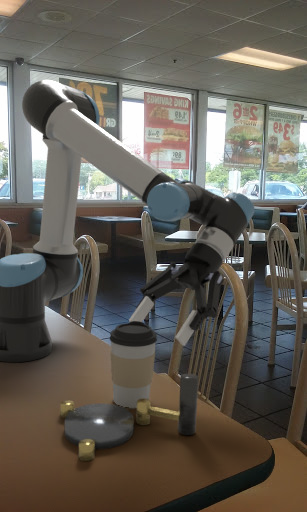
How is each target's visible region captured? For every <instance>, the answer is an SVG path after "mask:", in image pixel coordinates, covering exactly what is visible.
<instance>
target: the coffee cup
mask: <svg viewBox="0 0 307 512" xmlns="http://www.w3.org/2000/svg"><path fill="white" fill-rule="evenodd" d="M157 337H158V336H157V332H155V331H154V330H152V327H150V326H149V325H147V324H145V323H144V322H143V321H142V322H140V321H132V322H130V321H129V322H127V323H120V324H118V325H116V326H115V328H114V329H112V331H111V332H110V337H109V341H110V362H111V363H110V366H111V381H112V393H113V394H112V395H113V396H112V397H113V402H115V403H116V404H115V403H114V404H115V405H117V406H118V405H120V407H121V406H123V408H125V407H129V408H128V409H137V400H139V399H143V398H144V399H149V400H150V395H151V394H150V393H151V385H152V382H153V377H154V376H153V375H154V366H155V365H154V364H155V359H156V357H155V356H156V342H157V341H158V340H157V339H158V338H157Z"/></svg>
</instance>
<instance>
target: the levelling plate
mask: <svg viewBox="0 0 307 512" xmlns="http://www.w3.org/2000/svg"><path fill="white" fill-rule="evenodd" d="M60 417H61V418H63V419H64V436H65V438H66V439H67V440H68V441H69V442H70V443H71V444H73V445H75V446H78V459H79V460H80V461H83V462H91V461H92V460H94V459H95V451H96V450H105V449H111V448H115V447H118V446H121V445H123V444H125V443H126V442H128V441H129V440H130V439H131V438H132V437H133V434H134V423H135V421H134V420H135V419H134V416H133V414H132V413H131V412H130V411H129V410H128V409H127V408H125V407H121V406H118V405H117V404H112V403H105V402H104V403H102V402H101V403H89V404H85V405H80V406H78V407H75V402H74V401H73V400H69V399H68V400H63V401H61V402H60ZM130 437H131V438H130ZM128 439H129V440H128ZM127 440H128V441H127Z"/></svg>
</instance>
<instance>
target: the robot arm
mask: <svg viewBox="0 0 307 512" xmlns="http://www.w3.org/2000/svg"><path fill="white" fill-rule="evenodd" d="M21 107H22V113H23V115H24V118H25V120H26V121H27V122H28V123H29V125H30V126H31V127H32V128H34V129H35V130H37V131H38V132H39V133H41V134H42V141H43V143H44V144H45V145H46V147H47V152H46V153H47V155H46V165H45V167H46V168H45V177H44V186H43V187H44V188H43V189H44V190H43V200H42V201H43V202H42V211H41V220H40V221H41V222H40V223H41V224H40V234H39V235H40V236H39V240H38V242H36V243H35V244H34V245H33V247H32V253H31V252H28V253H27V252H26V253H25V252H24V253H17V254H16V253H15V254H10V255H5V256H4V257H2V258H0V361H1V362H6V363H10V362H11V363H22V362H30V361H36V360H40V359H42V358H45V357H47V356H48V355H50V354H51V353H52V350H53V341H52V337H51V335H50V330H49V328H48V326H47V322H46V316H45V315H46V303H48V302H50V301H53V300H55V299H58V298H63V297H66V296H68V295H70V294H71V293H73V292H75V291H76V290H77V289H78V287H79V286H80V284H81V283H82V280H83V275H84V268H83V264H82V263H81V261H80V258H79V257H78V253H79V250H78V249H77V247H76V246H75V245H74V237H75V234H74V233H75V225H76V218H77V217H76V214H77V205H78V196H79V188H80V187H79V186H80V184H79V183H80V178H81V177H80V176H81V166H82V159H84V160H85V161H86V162H88V163H89V164H91V165H92V166H93V167H94V168H96V169H98V171H100V172H101V173H103V174H105V176H107V177H108V178H110V179H111V180H112V181H114V183H116V184H118V185H119V186H120V187H122V188H123V189H124V190H125V191H127V192H129V193H130V194H131V195H132V196H134V197H136V199H137V200H140V201H141V203H143V204H144V205H146V206H147V209H148V211H149V213H150V214H151V215H152V217H154V218H155V219H157V220H159V221H163V222H176V221H180V220H184V219H190V220H191V221H192V220H193V221H194V222H196V223H198V224H200V225H202V226H203V227H204V229H202V231H201V233H200V234H199V236H198V237H197V239H196V240H195V242H194V243H193V244H192V245H191V247H190V248H189V250H188V251H187V253H186V255H185V256H184V257H185V259H184V263H182V265H179V264H178V265H177V264H176V262H174V261H172V262H170V263H169V265H168V266H166V268H165V269H164V270H163V271H161V272H160V273H159V274H157V275H156V276H155V277H154V278H152V279H151V280H150V281H149V282H147V283H146V284H145V285H143V286H142V287H141V288H140V289H139V292H140V293H141V294H142V296H143V297H141V299H140V301H139V303H138V304H137V305H136V308H135V310H134V312H133V313H132V314H131V316H130V317H129V319H128V321H129V322H132V321H140V322H143V321H144V320H145V318H146V317H147V315H149V313H150V311H151V310H152V308H153V307H154V306H155V303H154V302H155V301H156V300H158V299H160V298H162V297H164V296H165V295H167V294H169V293H171V292H172V291H174V290H180V289H182V288H184V289H190V290H192V291H194V295H195V303H196V307H195V309H196V310H195V309H193V310H191V312H190V314H189V315H188V317H187V318H186V320H185V321H184V323H183V324H182V326H181V327H180V329H179V330H178V332H177V334H176V335H175V336H174V338H175V339H176V340H177V341H178V343H179V344H180V345H181V346H183V347H185V346H186V344H187V343H188V341H189V339H190V338H191V337H192V335H193V334H194V332H196V331H198V330H199V329H200V326H201V325H202V324H203V322H204V320H205V319H208V318H213V319H215V318H217V316H218V311H219V310H218V308H219V301H220V294H221V287H222V285H223V284H224V280H225V278H224V277H223V275H221V272H220V271H219V270H220V268H222V267H221V266H222V265H223V263H224V262H225V260H226V259H227V258H228V256H229V254H230V252H231V251H232V250H233V248H234V246H235V245H236V243H237V242H238V240H239V239H240V237H241V236H242V235H243V232H244V231H245V229H246V228H247V227H248V225H249V223H250V221H251V219H252V218H253V216H254V214H255V206H254V203H253V202H252V200H251V199H250V198H249V197H248V196H247V195H245V194H243V193H240V192H234V191H232V192H230V193H228V194H227V195H225V197H223V196H221V195H218V194H215V193H214V192H211V191H210V190H208V189H206V188H204V187H202V186H200V185H197V184H196V183H194V182H193V181H192V180H187V179H186V178H183V177H175V179H173V178H172V177H171V176H170V175H168V174H166V173H165V172H164V171H162V170H161V169H160V168H159V167H157V166H155V165H154V164H152V163H151V162H150V161H148V160H147V159H145V158H144V157H143V156H142V155H140V154H138V153H137V152H136V151H134V150H133V149H132V148H130V147H129V146H128V145H126V144H124V143H123V142H122V141H121V140H119V139H117V138H116V137H115V136H113V135H112V134H110V133H109V132H108V131H106V130H105V129H104V128H102V127H100V126H99V124H100V118H101V117H100V111H99V107H98V105H97V103H96V101H95V100H94V99H93V98H92V97H91V96H90V95H89V94H87V93H85V92H84V91H82V90H80V89H77V88H74V87H72V86H68V85H66V84H63V83H60V82H58V81H55V80H51V79H43V80H42V79H41V80H39V81H35V82H34V83H32V84H31V85H29V87H28V88H26V90H25V92H24V95H23V96H22V103H21ZM207 283H209V286H208V291H206V284H207ZM206 292H207V296H206ZM206 297H207V298H206Z"/></svg>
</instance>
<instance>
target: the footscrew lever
mask: <svg viewBox="0 0 307 512" xmlns="http://www.w3.org/2000/svg"><path fill="white" fill-rule="evenodd" d="M179 379H180V381H179V401H178V403H179V404H178V410H177V411H176V410H171V409H165V408H162V407H157V406H151V399H150V398H149V399H144V398H143V399H139V400H137V408H136V421H135V422H136V424H137V425H138V426H139V425H140V426H147V425H149V424H150V422H151V416H154V417H158V418H164V419H168V420H173V421H176V422H177V431H178V433H180V434H181V435H185V436H190V435H193V434H195V433H196V430H197V429H196V427H197V410H198V409H197V408H198V395H199V393H198V392H199V391H198V389H199V376H198V375H197V374H195V373H183V374H181V375H180V378H179Z"/></svg>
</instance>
